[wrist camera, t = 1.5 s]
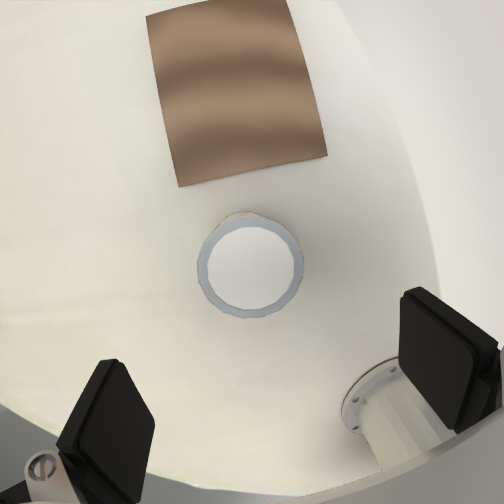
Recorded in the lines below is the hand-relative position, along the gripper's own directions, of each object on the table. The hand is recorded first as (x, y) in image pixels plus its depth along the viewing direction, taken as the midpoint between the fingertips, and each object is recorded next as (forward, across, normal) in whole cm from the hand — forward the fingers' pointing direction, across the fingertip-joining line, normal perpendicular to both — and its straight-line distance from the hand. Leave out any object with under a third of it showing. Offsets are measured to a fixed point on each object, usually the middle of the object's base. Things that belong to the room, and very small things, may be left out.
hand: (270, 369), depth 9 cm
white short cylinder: (+18, 0, 0) cm, 18 cm away
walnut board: (+18, -2, -14) cm, 22 cm away
